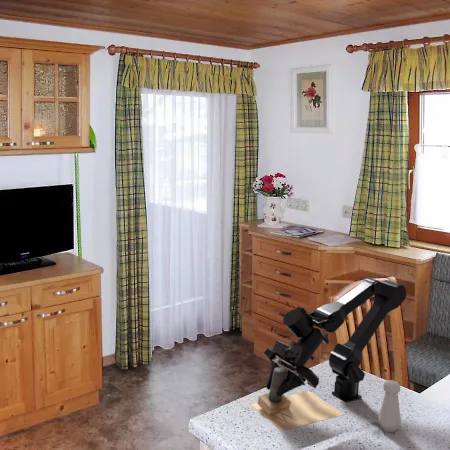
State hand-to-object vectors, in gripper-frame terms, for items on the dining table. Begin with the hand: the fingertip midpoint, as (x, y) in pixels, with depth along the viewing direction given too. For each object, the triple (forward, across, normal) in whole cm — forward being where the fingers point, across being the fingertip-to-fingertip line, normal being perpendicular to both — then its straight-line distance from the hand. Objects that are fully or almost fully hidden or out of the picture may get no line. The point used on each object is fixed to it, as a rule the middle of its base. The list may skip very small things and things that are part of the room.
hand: (272, 392), depth 158 cm
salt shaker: (-12, +21, +22) cm, 32 cm away
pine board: (0, +2, +10) cm, 10 cm away
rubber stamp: (+2, -1, +5) cm, 6 cm away
